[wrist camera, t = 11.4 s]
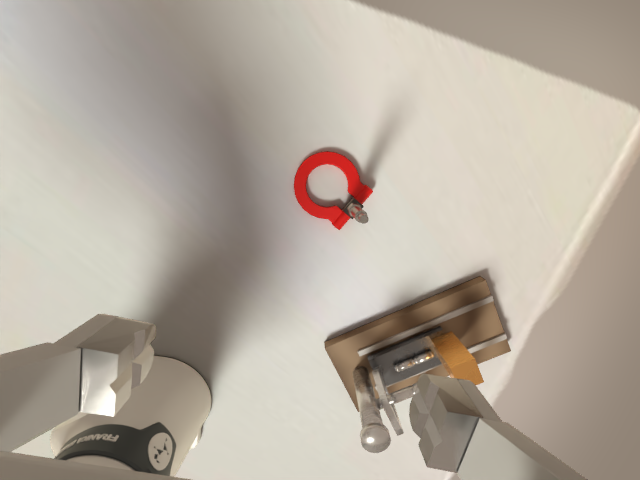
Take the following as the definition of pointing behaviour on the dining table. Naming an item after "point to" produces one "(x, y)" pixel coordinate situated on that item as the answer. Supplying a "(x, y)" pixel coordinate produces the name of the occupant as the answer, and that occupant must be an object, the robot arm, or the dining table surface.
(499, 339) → the board
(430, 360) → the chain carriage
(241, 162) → the dining table surface
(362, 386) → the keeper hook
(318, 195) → the dining table surface
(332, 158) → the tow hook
